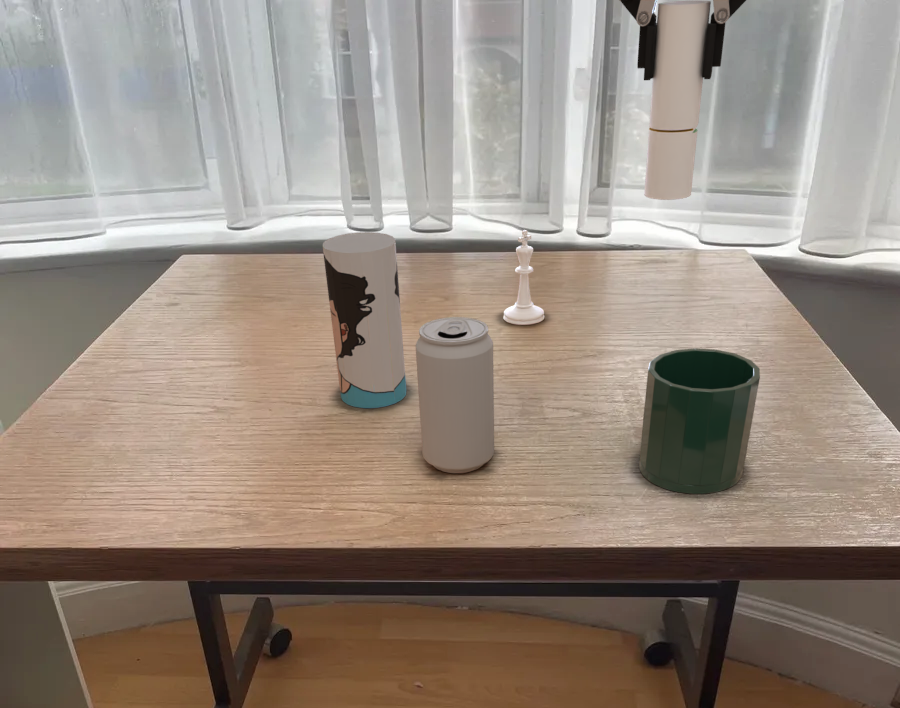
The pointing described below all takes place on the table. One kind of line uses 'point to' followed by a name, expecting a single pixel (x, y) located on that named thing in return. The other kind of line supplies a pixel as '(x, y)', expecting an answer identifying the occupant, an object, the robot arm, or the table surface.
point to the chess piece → (524, 289)
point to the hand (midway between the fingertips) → (678, 75)
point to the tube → (676, 98)
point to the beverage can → (456, 393)
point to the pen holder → (697, 419)
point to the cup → (366, 318)
